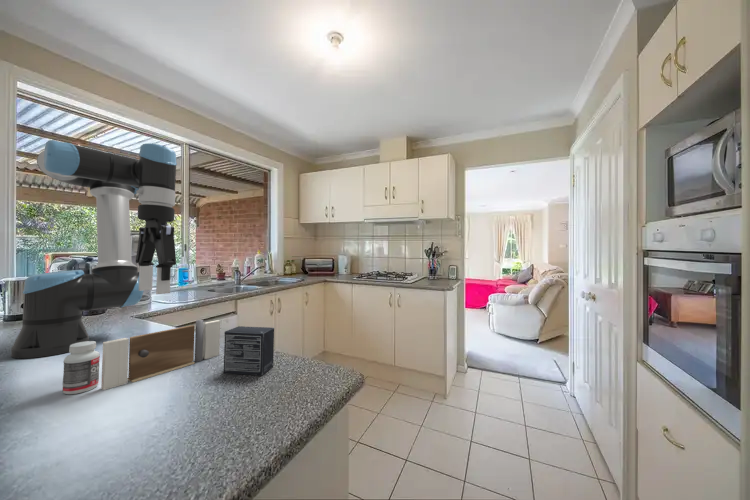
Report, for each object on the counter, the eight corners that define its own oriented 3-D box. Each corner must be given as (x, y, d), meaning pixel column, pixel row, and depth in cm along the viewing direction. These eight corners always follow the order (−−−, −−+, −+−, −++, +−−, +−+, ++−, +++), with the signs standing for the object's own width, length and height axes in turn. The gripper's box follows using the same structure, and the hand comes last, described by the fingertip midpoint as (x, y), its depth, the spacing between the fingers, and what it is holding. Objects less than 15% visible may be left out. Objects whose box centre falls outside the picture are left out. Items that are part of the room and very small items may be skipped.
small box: (274, 366, 74) (275, 326, 75) (262, 376, 68) (263, 333, 68) (237, 363, 76) (238, 324, 76) (222, 373, 69) (223, 331, 69)
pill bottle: (98, 389, 60) (100, 344, 60) (60, 398, 56) (62, 349, 56) (99, 381, 64) (100, 338, 64) (64, 388, 60) (65, 343, 60)
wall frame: (100, 387, 61) (101, 337, 61) (214, 353, 82) (216, 316, 83) (105, 391, 59) (106, 339, 60) (220, 355, 81) (221, 317, 81)
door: (128, 378, 64) (129, 337, 64) (191, 360, 76) (192, 325, 76) (132, 381, 63) (134, 339, 63) (195, 361, 75) (196, 326, 75)
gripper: (121, 206, 75) (118, 289, 75) (159, 199, 64) (156, 297, 63) (154, 210, 81) (152, 287, 81) (194, 205, 70) (191, 294, 70)
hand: (154, 291), depth 72 cm, fingers open, 9 cm apart
